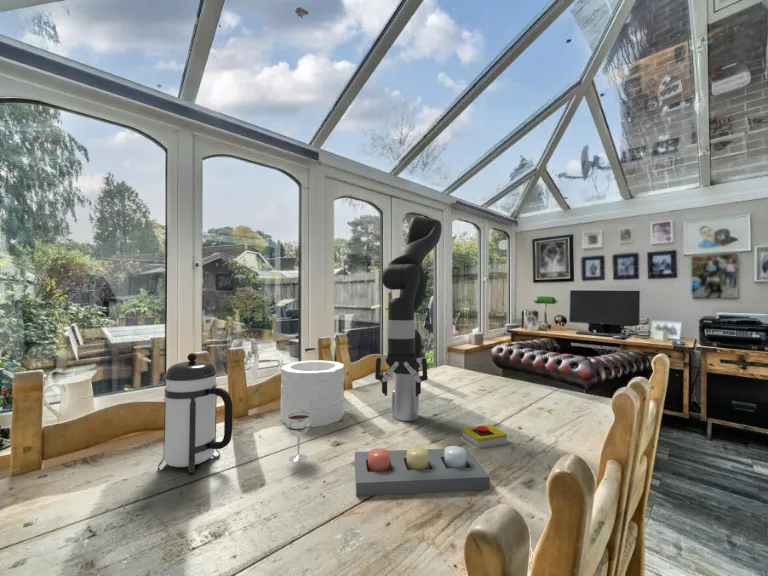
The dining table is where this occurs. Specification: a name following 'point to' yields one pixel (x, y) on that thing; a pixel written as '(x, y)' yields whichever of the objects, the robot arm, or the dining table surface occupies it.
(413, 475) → the control panel
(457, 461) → the blue button
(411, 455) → the ochre button
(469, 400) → the dining table surface
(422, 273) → the robot arm
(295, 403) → the basket
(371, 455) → the red button
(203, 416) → the coffee press
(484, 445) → the emergency button
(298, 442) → the wineglass
